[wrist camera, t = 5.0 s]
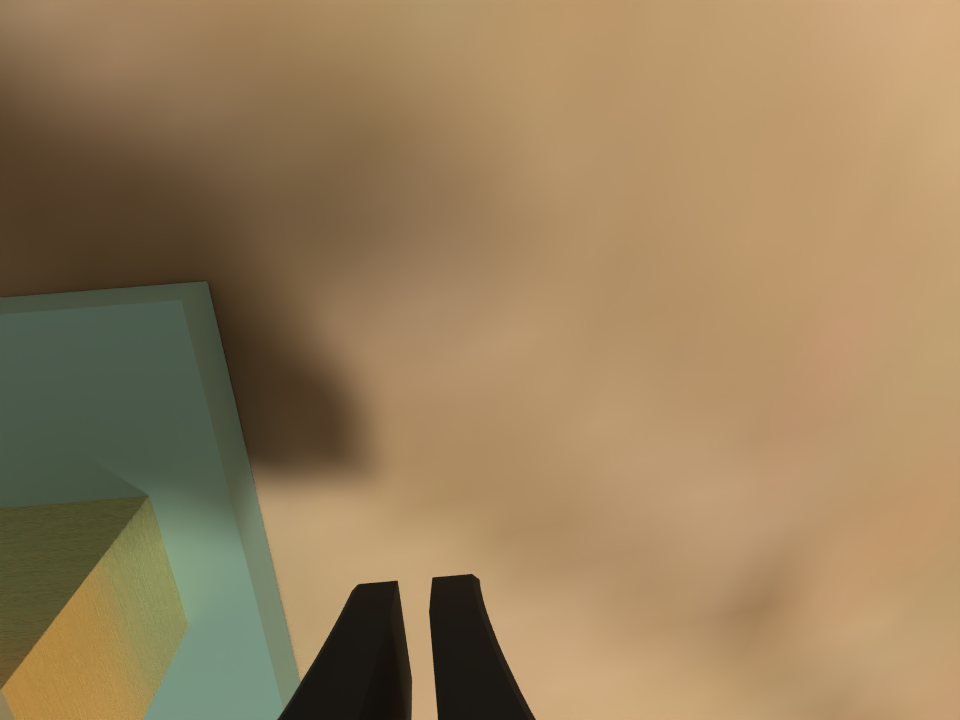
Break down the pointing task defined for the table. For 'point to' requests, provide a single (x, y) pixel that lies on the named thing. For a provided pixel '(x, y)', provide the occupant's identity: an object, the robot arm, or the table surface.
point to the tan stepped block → (85, 610)
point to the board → (153, 471)
